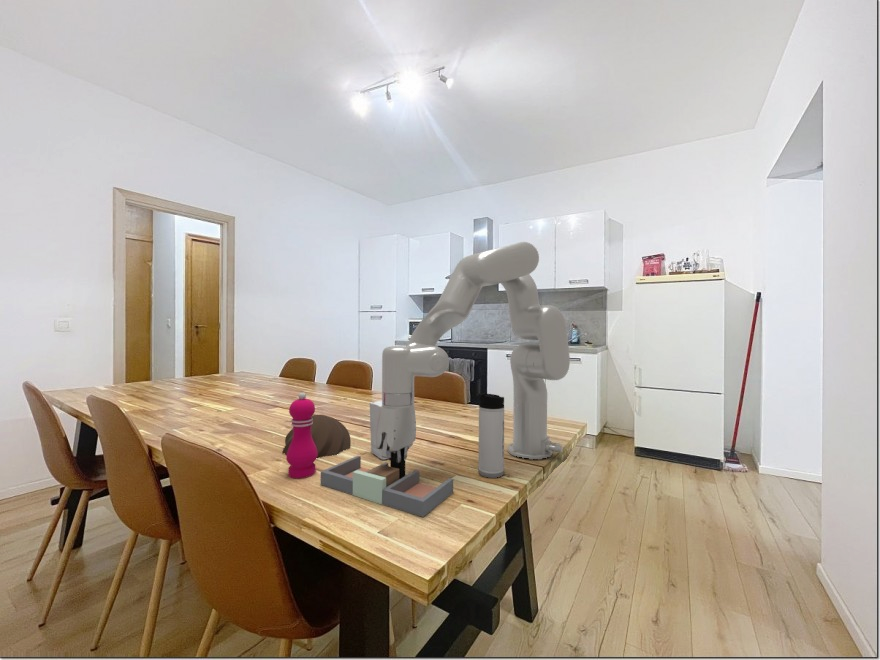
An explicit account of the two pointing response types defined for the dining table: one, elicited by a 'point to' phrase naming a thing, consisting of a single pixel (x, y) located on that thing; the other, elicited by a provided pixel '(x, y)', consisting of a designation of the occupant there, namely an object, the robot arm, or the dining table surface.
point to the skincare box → (375, 427)
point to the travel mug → (491, 435)
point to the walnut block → (386, 473)
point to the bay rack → (373, 487)
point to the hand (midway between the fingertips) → (397, 476)
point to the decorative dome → (325, 436)
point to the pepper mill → (301, 439)
